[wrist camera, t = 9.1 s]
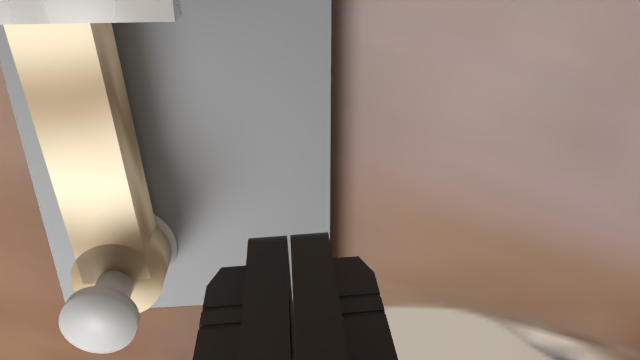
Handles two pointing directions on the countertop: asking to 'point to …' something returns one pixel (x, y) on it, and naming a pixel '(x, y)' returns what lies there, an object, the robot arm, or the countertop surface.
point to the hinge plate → (205, 147)
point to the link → (91, 152)
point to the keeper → (88, 11)
